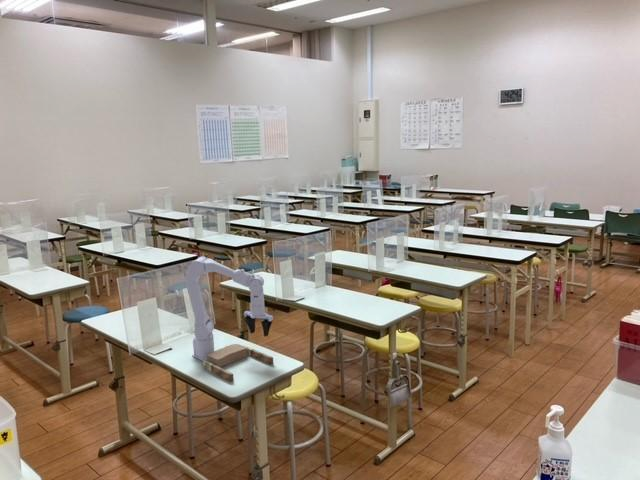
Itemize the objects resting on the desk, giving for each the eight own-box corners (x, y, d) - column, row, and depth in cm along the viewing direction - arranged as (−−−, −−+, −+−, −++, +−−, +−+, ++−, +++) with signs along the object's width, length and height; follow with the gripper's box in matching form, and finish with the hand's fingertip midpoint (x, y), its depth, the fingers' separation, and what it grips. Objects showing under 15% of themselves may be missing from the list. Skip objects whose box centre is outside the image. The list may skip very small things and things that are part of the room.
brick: (205, 354, 210) (206, 364, 211) (217, 359, 205) (217, 370, 206) (236, 341, 222) (236, 351, 223) (248, 346, 217) (248, 356, 218)
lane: (203, 367, 208) (202, 360, 207) (244, 351, 223) (244, 345, 222) (231, 382, 194) (230, 374, 194) (273, 364, 209) (273, 357, 209)
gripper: (238, 304, 213) (240, 334, 216) (264, 309, 205) (266, 340, 208) (249, 299, 219) (251, 329, 221) (275, 304, 211) (277, 334, 214)
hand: (259, 334), depth 215 cm, fingers open, 7 cm apart
